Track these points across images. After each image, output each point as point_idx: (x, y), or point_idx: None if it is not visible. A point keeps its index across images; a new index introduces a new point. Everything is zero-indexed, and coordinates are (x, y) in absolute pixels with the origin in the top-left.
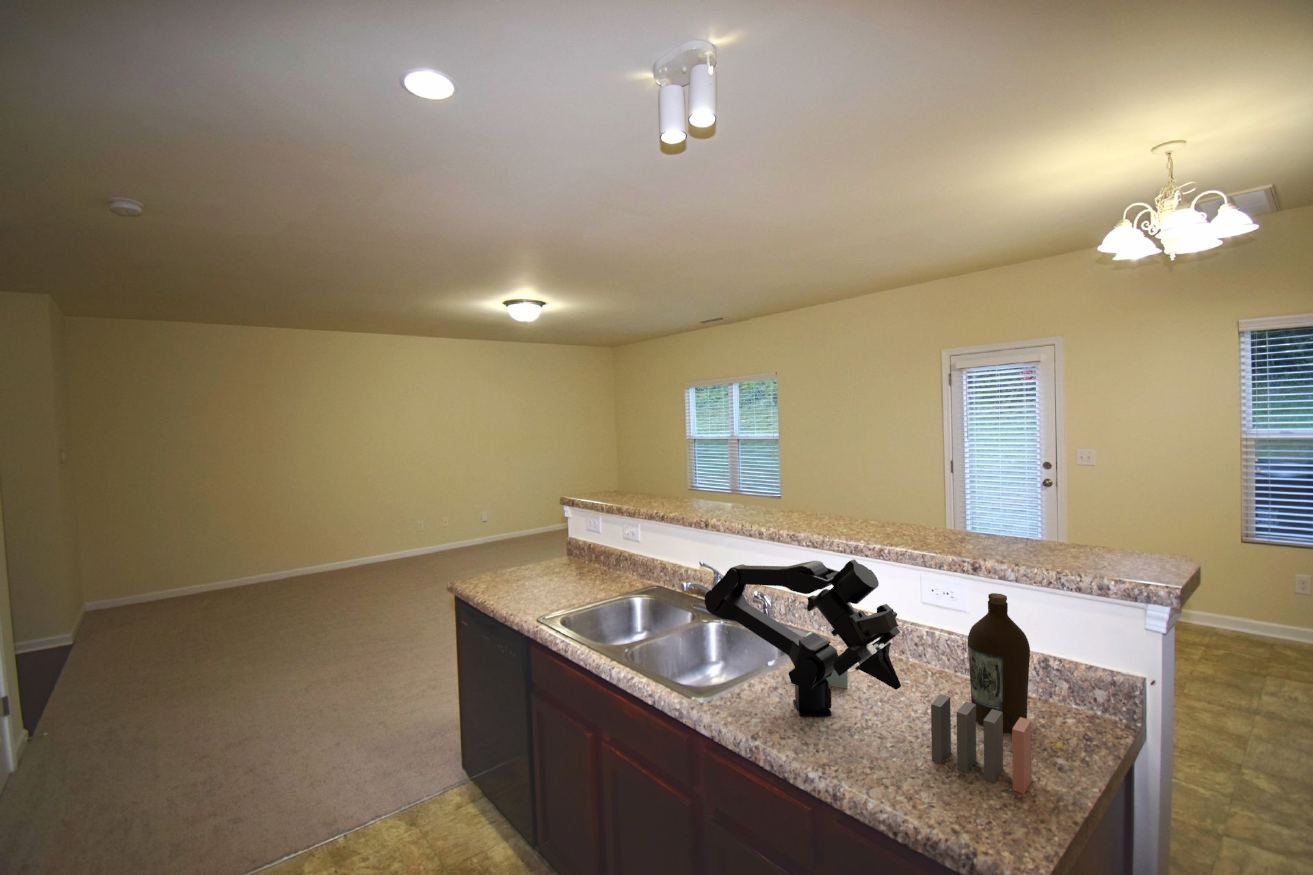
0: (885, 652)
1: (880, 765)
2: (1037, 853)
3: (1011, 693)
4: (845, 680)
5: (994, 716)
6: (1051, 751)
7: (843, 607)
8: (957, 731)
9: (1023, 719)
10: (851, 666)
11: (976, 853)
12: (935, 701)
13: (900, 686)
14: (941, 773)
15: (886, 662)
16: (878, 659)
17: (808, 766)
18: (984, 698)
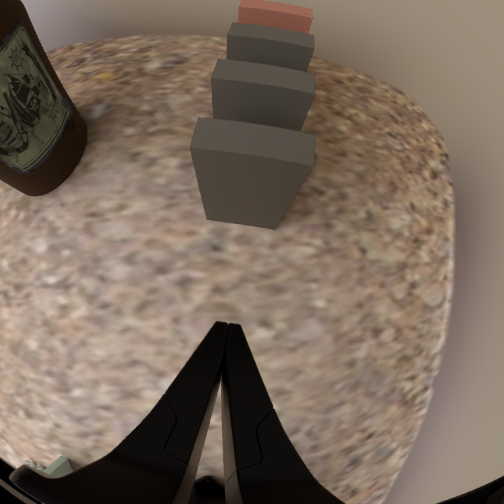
0: (168, 500)
1: (359, 319)
2: (400, 97)
3: (55, 74)
4: (60, 468)
5: (273, 31)
6: (128, 76)
7: None
8: (299, 130)
9: (248, 4)
10: (499, 478)
11: (445, 153)
12: (277, 154)
13: (226, 322)
14: (315, 203)
15: (192, 448)
16: (329, 495)
17: (418, 416)
18: (49, 130)
